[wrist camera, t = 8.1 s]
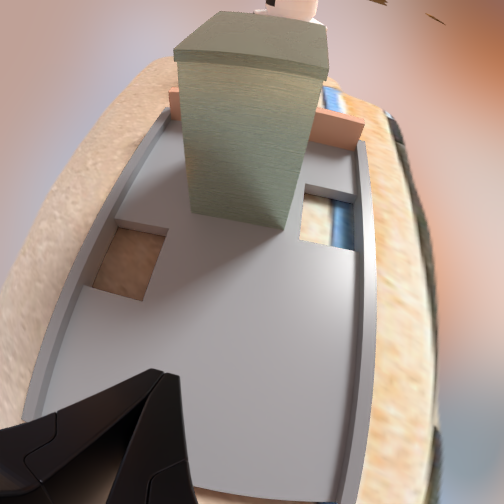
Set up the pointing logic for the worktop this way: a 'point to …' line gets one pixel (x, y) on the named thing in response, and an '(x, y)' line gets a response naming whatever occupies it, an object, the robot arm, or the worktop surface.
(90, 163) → the worktop surface
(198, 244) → the tray
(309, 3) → the medicine bottle
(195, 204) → the tea tin
